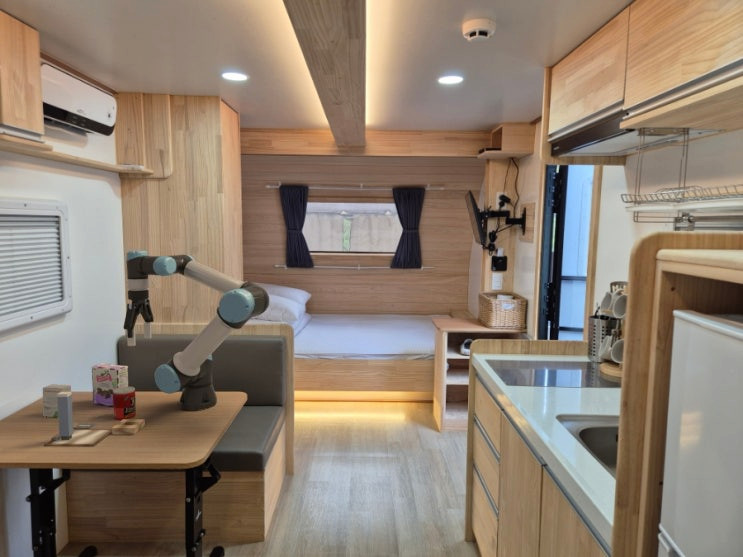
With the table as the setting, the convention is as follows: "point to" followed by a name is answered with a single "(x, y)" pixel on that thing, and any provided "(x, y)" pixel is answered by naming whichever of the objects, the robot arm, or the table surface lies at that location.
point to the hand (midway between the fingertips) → (139, 341)
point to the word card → (83, 426)
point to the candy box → (107, 382)
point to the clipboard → (81, 438)
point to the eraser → (65, 415)
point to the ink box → (52, 398)
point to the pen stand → (128, 427)
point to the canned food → (124, 403)
